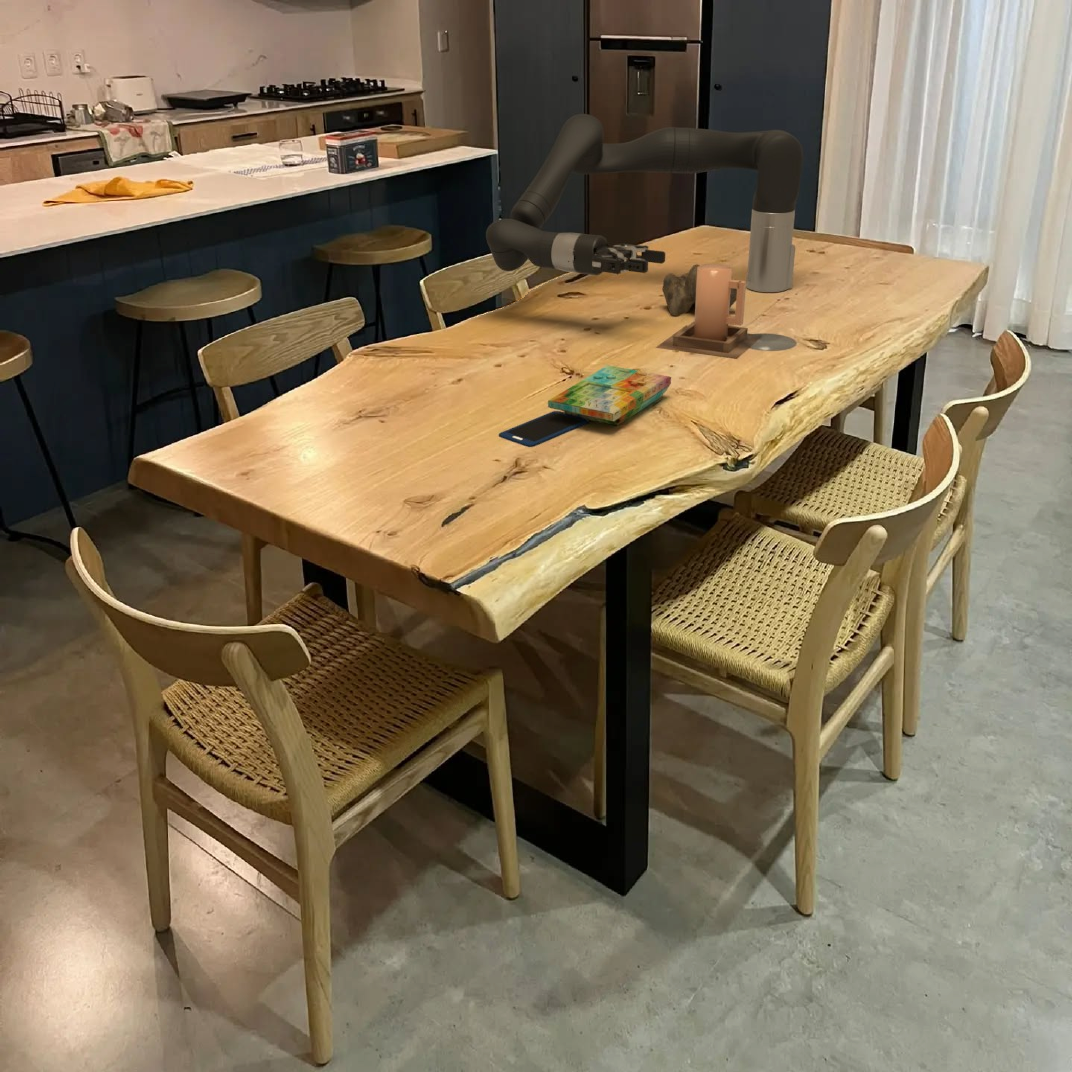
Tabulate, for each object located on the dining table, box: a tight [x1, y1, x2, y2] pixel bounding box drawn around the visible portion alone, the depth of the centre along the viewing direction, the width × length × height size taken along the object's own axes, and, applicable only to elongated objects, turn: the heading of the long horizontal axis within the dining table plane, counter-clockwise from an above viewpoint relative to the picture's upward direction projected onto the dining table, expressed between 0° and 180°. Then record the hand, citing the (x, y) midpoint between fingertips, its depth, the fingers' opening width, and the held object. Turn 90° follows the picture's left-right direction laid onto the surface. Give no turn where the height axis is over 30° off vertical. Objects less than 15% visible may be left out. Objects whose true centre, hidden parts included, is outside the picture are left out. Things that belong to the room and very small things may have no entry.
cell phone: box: [498, 410, 589, 448], centre depth 169 cm, size 7×14×1 cm, turn 137°
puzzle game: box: [547, 365, 672, 427], centre depth 176 cm, size 12×5×20 cm
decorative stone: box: [662, 263, 737, 317], centre depth 224 cm, size 16×11×15 cm
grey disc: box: [740, 332, 798, 352], centre depth 205 cm, size 11×11×1 cm
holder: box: [655, 321, 761, 360], centre depth 206 cm, size 16×16×2 cm
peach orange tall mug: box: [693, 263, 747, 342], centre depth 202 cm, size 9×6×14 cm
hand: (656, 262), depth 204 cm, fingers open, 8 cm apart
